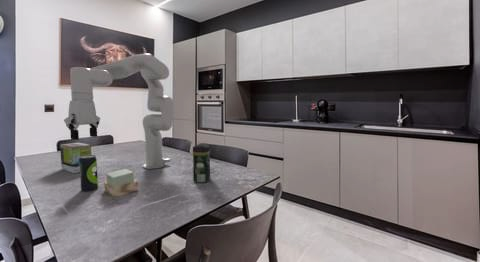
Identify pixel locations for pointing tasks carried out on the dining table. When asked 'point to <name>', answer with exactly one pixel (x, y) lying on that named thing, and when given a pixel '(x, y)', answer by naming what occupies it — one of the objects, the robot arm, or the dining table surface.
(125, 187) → the beech base brick
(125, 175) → the sage brick
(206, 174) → the coffee jar
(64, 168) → the tea box
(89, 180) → the beverage can
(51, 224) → the dining table surface
